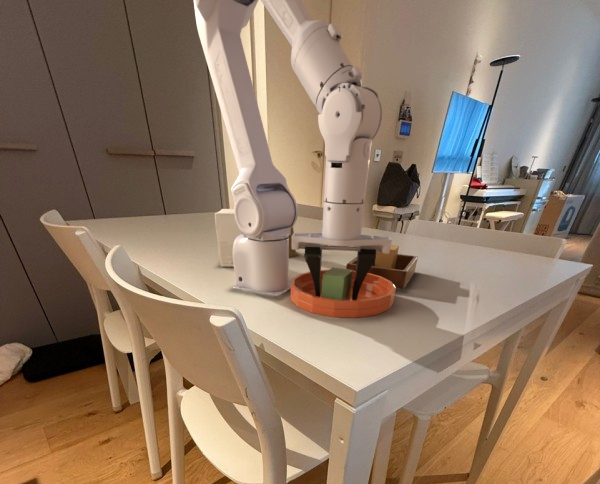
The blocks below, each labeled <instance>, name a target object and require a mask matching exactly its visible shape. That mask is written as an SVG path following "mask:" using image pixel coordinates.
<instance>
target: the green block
mask: <svg viewBox="0 0 600 484" xmlns="http://www.w3.org/2000/svg"><path fill="white" fill-rule="evenodd" d="M329 269H330V270H329ZM329 269H327V270H328V271H327V272H325V273H324V274H323V279H322V297H323V298H329V299H335V300H350V294H351V285H352V276H353V270H348V269H346V268H340V267H331V268H329Z"/></svg>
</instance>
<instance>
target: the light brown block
mask: <svg viewBox="0 0 600 484" xmlns="http://www.w3.org/2000/svg"><path fill="white" fill-rule="evenodd" d="M399 248H400V245H397V244H396V245H395V244H391V247H390V253H389V254H385V253H382V252H377V253H376V260H375V267H382V268H389V269H395V266H396V260H397V255H398V254H399Z"/></svg>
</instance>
